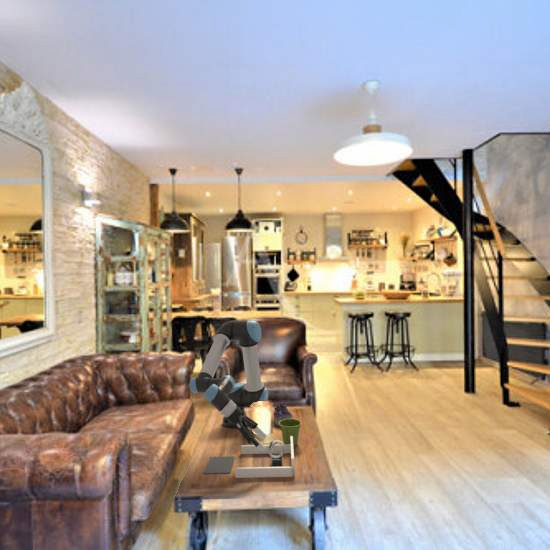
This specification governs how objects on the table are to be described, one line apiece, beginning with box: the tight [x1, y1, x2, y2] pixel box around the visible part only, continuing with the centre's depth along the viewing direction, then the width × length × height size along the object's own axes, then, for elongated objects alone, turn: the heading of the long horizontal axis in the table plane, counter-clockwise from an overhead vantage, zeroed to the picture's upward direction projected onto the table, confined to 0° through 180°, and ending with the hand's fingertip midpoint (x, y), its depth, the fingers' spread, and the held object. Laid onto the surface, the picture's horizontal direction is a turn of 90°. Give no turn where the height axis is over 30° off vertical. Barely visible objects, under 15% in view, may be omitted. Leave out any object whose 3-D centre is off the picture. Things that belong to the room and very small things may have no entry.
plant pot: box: [279, 418, 302, 447], centre depth 211 cm, size 12×12×11 cm
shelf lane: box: [235, 436, 295, 479], centre depth 189 cm, size 24×26×8 cm
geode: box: [272, 402, 293, 428], centre depth 244 cm, size 20×12×10 cm, turn 8°
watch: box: [268, 439, 285, 467], centre depth 189 cm, size 6×8×11 cm
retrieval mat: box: [203, 455, 235, 475], centre depth 190 cm, size 16×12×1 cm
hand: (264, 443), depth 188 cm, fingers open, 13 cm apart
